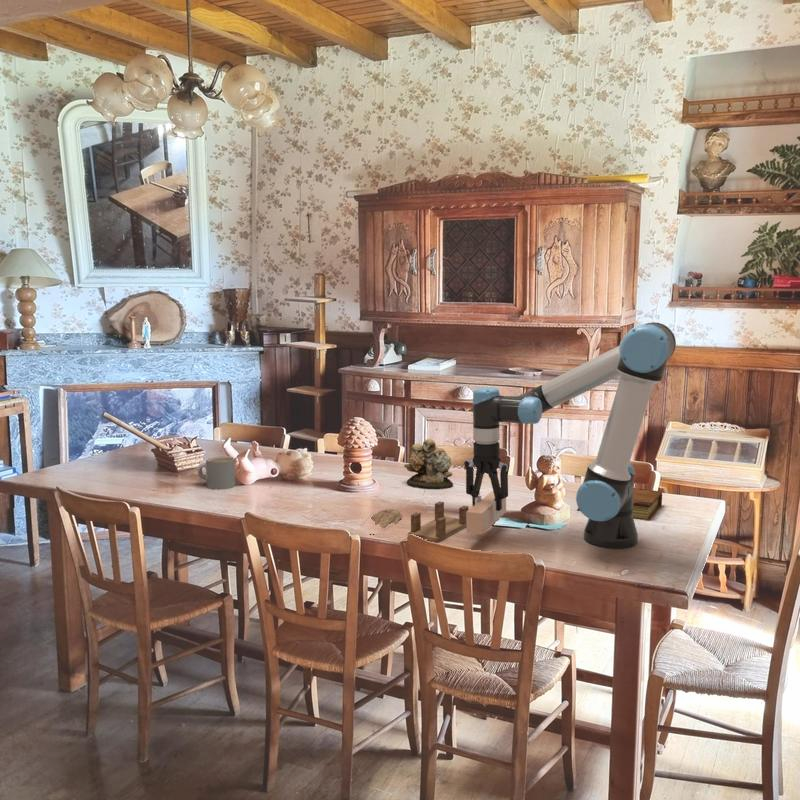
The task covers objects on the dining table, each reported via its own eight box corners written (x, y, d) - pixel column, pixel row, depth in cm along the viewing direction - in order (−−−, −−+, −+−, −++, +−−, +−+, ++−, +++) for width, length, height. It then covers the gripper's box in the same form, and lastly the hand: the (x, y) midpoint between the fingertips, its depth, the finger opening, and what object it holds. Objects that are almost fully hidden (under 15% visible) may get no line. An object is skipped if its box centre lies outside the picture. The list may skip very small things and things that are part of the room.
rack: (470, 524, 257) (470, 505, 256) (437, 542, 240) (437, 521, 239) (442, 519, 262) (442, 500, 261) (408, 536, 245) (408, 516, 244)
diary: (661, 507, 277) (662, 491, 276) (648, 522, 261) (650, 505, 260) (593, 498, 288) (593, 481, 287) (576, 511, 272) (577, 494, 271)
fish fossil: (386, 537, 246) (386, 533, 246) (353, 538, 248) (353, 534, 248) (403, 511, 271) (403, 507, 270) (373, 511, 273) (373, 508, 273)
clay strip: (506, 511, 254) (506, 492, 253) (481, 534, 232) (481, 513, 232) (491, 510, 256) (491, 491, 255) (466, 532, 234) (466, 511, 233)
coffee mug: (240, 483, 305) (239, 457, 303) (225, 490, 296) (224, 463, 294) (209, 480, 310) (208, 454, 308) (193, 487, 300) (192, 460, 299)
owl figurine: (400, 487, 300) (400, 441, 298) (408, 479, 311) (408, 434, 309) (449, 490, 296) (450, 443, 293) (456, 482, 307) (456, 437, 304)
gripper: (520, 441, 239) (521, 520, 242) (464, 436, 249) (465, 512, 252) (509, 446, 233) (509, 527, 236) (452, 441, 242) (453, 518, 246)
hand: (487, 519), depth 244 cm, fingers closed on clay strip, 5 cm apart
